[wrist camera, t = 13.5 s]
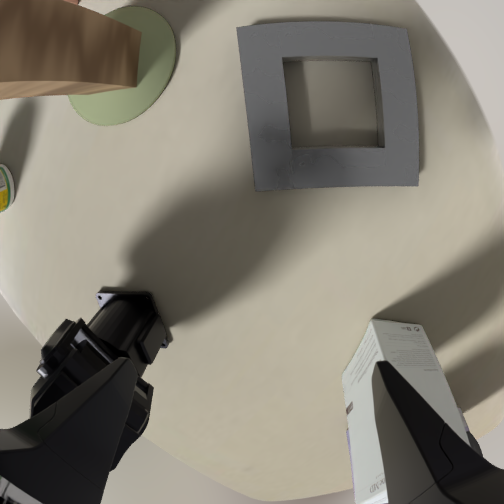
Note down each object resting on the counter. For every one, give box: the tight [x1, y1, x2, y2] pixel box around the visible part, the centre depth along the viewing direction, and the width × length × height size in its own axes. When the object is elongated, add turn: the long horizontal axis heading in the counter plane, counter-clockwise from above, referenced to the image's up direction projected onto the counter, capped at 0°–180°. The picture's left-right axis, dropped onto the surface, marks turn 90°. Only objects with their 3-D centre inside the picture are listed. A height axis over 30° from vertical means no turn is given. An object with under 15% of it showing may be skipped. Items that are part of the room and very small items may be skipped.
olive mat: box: [68, 6, 176, 126], centre depth 16 cm, size 10×10×1 cm
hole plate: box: [236, 21, 419, 191], centre depth 16 cm, size 11×11×2 cm
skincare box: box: [342, 319, 471, 504], centre depth 18 cm, size 8×6×15 cm
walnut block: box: [0, 0, 142, 100], centre depth 10 cm, size 4×4×13 cm
